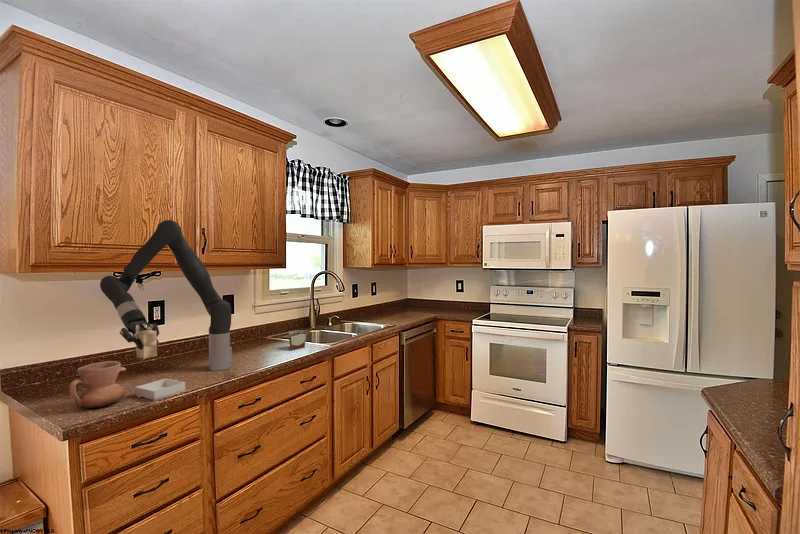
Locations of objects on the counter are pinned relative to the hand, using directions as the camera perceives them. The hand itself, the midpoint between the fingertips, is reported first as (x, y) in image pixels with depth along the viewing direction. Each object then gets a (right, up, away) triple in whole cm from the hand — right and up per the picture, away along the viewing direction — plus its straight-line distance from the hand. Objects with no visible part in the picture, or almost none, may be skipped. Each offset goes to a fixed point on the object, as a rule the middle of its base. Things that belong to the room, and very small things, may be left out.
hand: (149, 346), depth 155 cm
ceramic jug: (-9, -18, -14) cm, 25 cm away
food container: (+38, -17, +75) cm, 86 cm away
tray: (+6, -18, -3) cm, 19 cm away
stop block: (-2, -4, +1) cm, 5 cm away
